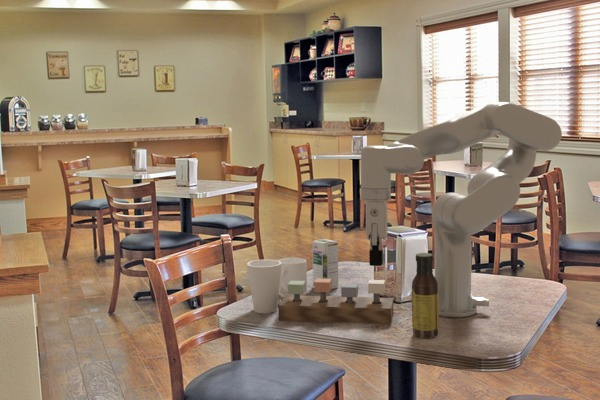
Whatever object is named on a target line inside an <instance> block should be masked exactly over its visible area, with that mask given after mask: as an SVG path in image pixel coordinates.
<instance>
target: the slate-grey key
mask: <svg viewBox="0 0 600 400" xmlns="http://www.w3.org/2000/svg"><path fill="white" fill-rule="evenodd" d="M340 294H341V295H340V297H347V303H353V297H358V295H359V283H348V282H346V283H345V282H344V283H342V285H341V288H340Z"/></svg>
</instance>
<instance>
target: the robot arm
mask: <svg viewBox="0 0 600 400" xmlns="http://www.w3.org/2000/svg"><path fill="white" fill-rule="evenodd" d="M562 134H563V133H562V128H561V126H560V124H559V123H558V122H557V121H556V120H554V119H553V118H551V117H548V116H547V115H543V114H541V113H538V112H537V111H534V110H531V109H528V108H526V107H523V106H521V105H519V104H515V103H512V102H509V101H507V102H506V101H491V102H487V103H484V104H482V105H479V106H478V107H474V108H472V109H471V110H469V111H466V112H464V113H462V114H460V115H458V116H456V117H453V118H451V119H448V120H447V121H444V122H441V123H438V124H435V125H433V126H430V127H428V128H425V129H423V130H419V131H417V132H414V133H412V134H409V135H407V136H404V137H403V138H400V139H398V140H396V141H393V142H392V143H390V144H389V145H388V146H387V145H367V146H364V147H363V148H362V149H361V150H360V151H361V152H360V178H361V179H360V193H361V195H360V198H361V199H360V200H361V201H362V202H365V232H366V239H367V240H368V241H369V250H368V252H369V254H368V256H369V266H370V267H373V266H374V267H382V265H383V248H382V247H383V246H382V245H383V243H382V242H383V241H386V239H387V238H388V232H389V231H388V230H389V229H388V202H390V201H391V200H392V199H391V198H392V194H391V193H392V191H391V190H392V174H396V175H397V174H398V175H406V176H407V175H408V176H409V175H413V174H417V172H420V171H421V169H422V168H423V166H424V164H425V159H427V158H431V157H435V156H441V155H449V154H450V155H451V154H454V153H458V152H462V151H464V150H466V149H468V148H470V147H473V146H475V145H477V144H479V143H481V142H483V141H486V140H487V139H488V140H489V139H490V138H492V137H494V136H503V137H506V138H508V147H507V149H506V151H505V152H504V153H503V154H502V156H500V157H499V158H498V159H496V160H495V161H493V162H492V163H491V164H489V165H488V166H487V167H485V168H483V169H482V170H481V171H479V172H477V173H476V174H475V175H474V176H473V177H471V179H470V180H469V182H468V184H467V187H466V189H467V194H468V195H464V194H461V193H459V192H458V193H457V192H445V193H444V194H441V195H440V196H438V197H437V199H436V200H435V201H434V203H433V205H432V209H431V218H432V226H433V232H434V234H433V235H434V277H435V278H436V280H437V283H438V314H439V317H444V318H466V317H472V316H473V315H476V314H477V312H478V309H477V307H478V306H479V307H489V306H490V299H487V298H484V297H475V296H473V292H472V253H473V252H472V251H473V250H472V249H473V248H472V247H473V246H472V244H473V243H472V237H471V236H472V235H475V234H478V233H479V232H481V231H483V230H484V229H486V228H487V227H488V226H490V225H492V224H493V223H495V222H496V221H497V220H499V219H500V218H501V217H503V216H504V215H505V214H507V213H508V212H509V211H510V210H512V209H513V208H514V207H515V206H516V204H517V202H518V201H519V198H520V195H521V187H520V184H521V183H523V181H525V180H526V179H527V178H528V177H529V175H530V174H531V173H532V171H533V169H534V167H535V164H536V157H537V151H539V152H547V151H551V150H553V149H555V148H556V147H557V146H558V145H559V144H560V142H561V139H562V137H563V135H562Z"/></svg>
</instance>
